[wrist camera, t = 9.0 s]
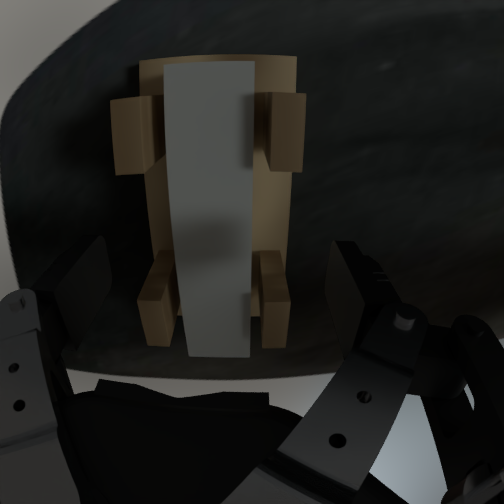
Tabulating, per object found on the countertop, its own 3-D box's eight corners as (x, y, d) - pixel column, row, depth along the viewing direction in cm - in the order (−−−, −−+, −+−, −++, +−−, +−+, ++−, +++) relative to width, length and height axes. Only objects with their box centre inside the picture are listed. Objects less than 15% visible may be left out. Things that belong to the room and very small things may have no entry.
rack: (293, 58, 15) (318, 43, 9) (279, 306, 22) (289, 372, 17) (144, 62, 14) (99, 52, 9) (166, 305, 22) (147, 369, 17)
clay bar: (252, 68, 14) (254, 61, 11) (248, 313, 21) (249, 357, 18) (182, 70, 14) (163, 64, 10) (196, 313, 21) (188, 356, 18)
